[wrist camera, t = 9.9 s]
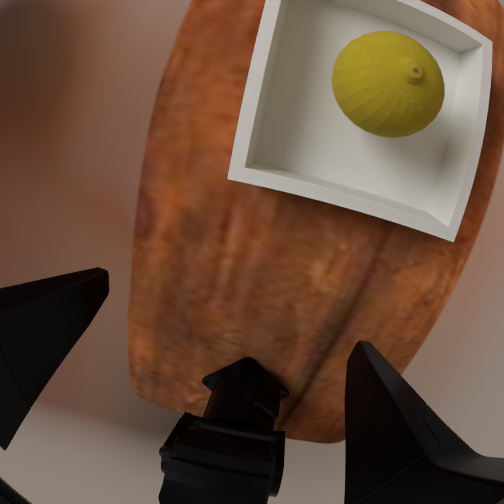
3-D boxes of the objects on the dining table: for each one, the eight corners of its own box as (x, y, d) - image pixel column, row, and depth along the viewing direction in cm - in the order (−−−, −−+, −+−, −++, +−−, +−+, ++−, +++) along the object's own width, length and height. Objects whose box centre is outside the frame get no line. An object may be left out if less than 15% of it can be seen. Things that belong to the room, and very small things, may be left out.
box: (429, 223, 18) (453, 242, 14) (241, 170, 19) (227, 178, 15) (464, 52, 12) (491, 41, 9) (281, -10, 13) (276, -38, 10)
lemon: (311, 111, 16) (321, 90, 9) (344, 41, 14) (372, -14, 6) (387, 153, 16) (445, 167, 9) (419, 84, 14) (485, 62, 7)
